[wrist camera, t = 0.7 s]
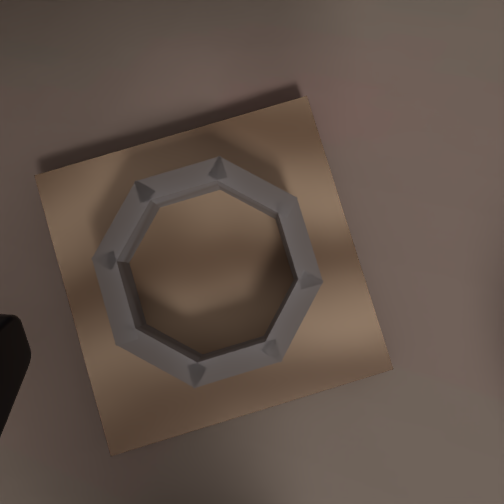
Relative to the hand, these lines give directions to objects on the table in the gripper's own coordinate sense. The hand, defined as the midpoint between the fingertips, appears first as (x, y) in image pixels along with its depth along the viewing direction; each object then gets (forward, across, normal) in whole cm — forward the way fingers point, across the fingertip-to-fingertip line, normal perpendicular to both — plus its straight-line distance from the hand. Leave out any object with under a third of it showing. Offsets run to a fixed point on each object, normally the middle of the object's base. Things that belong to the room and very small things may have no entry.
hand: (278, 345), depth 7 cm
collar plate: (+12, +3, +7) cm, 15 cm away
